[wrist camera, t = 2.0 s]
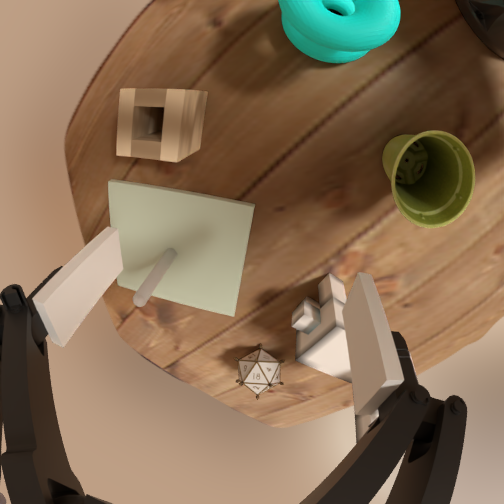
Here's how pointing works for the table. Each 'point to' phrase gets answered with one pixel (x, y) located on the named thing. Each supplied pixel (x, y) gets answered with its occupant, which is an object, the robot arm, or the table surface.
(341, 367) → the toy llama
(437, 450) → the robot arm
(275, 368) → the game die
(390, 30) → the donuts
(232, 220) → the stand
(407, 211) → the plant pot
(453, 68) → the table surface
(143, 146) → the bead
